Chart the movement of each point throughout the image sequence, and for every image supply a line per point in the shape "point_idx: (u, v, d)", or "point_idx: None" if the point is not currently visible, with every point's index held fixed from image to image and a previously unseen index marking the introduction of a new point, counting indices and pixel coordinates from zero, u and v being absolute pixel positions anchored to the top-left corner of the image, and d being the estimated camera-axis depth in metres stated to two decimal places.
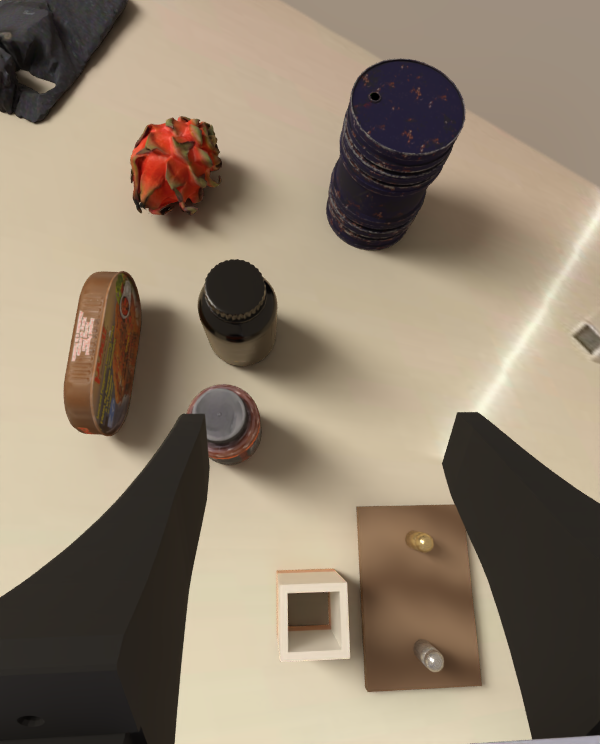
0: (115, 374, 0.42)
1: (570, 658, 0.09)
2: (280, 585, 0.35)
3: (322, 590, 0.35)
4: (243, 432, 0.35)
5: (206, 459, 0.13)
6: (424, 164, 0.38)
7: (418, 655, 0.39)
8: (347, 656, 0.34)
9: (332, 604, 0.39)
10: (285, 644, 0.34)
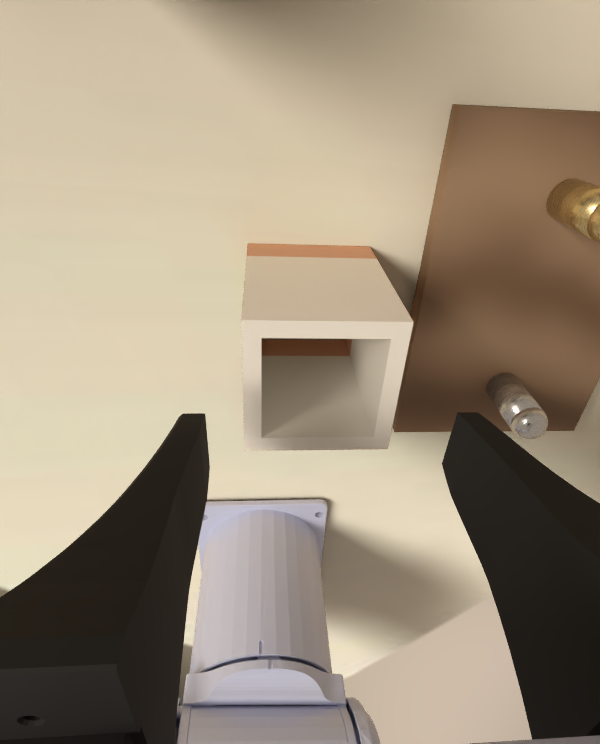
0: None
1: (570, 658, 0.09)
2: (243, 321, 0.14)
3: (349, 336, 0.14)
4: None
5: (206, 459, 0.13)
6: None
7: (497, 402, 0.22)
8: (382, 445, 0.17)
9: None
10: (256, 426, 0.16)
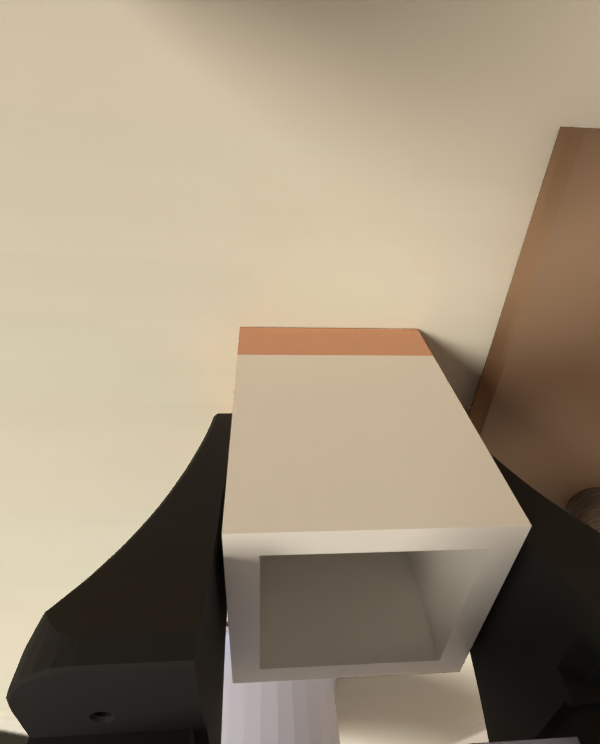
0: None
1: (521, 661, 0.08)
2: (227, 533, 0.07)
3: (415, 547, 0.08)
4: None
5: None
6: None
7: None
8: (452, 668, 0.11)
9: None
10: (250, 657, 0.10)
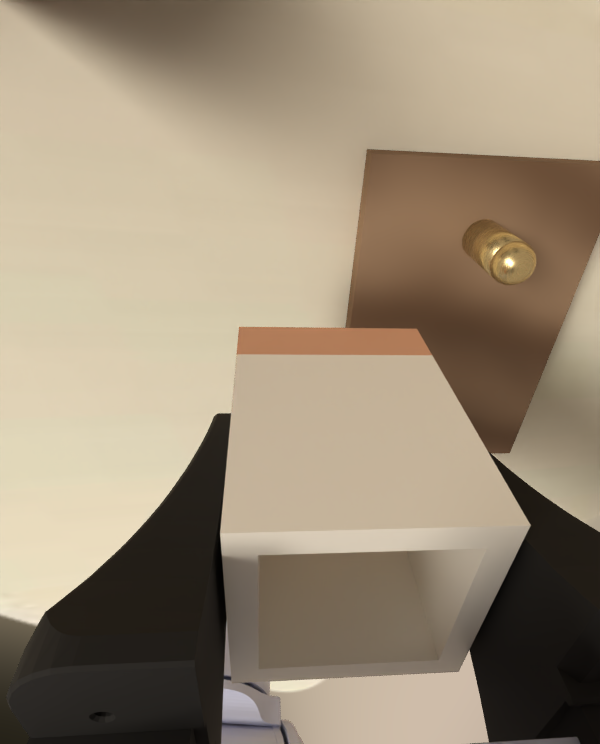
0: None
1: (521, 661, 0.08)
2: (225, 532, 0.07)
3: (414, 547, 0.08)
4: None
5: None
6: None
7: None
8: (451, 667, 0.11)
9: None
10: (249, 657, 0.10)
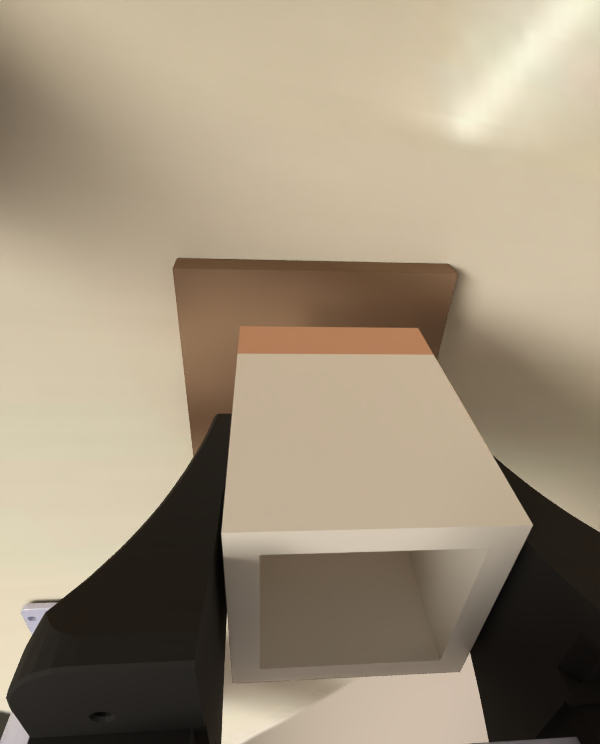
0: None
1: (521, 661, 0.08)
2: (226, 532, 0.07)
3: (416, 547, 0.08)
4: None
5: None
6: None
7: None
8: (452, 668, 0.11)
9: None
10: (250, 657, 0.10)
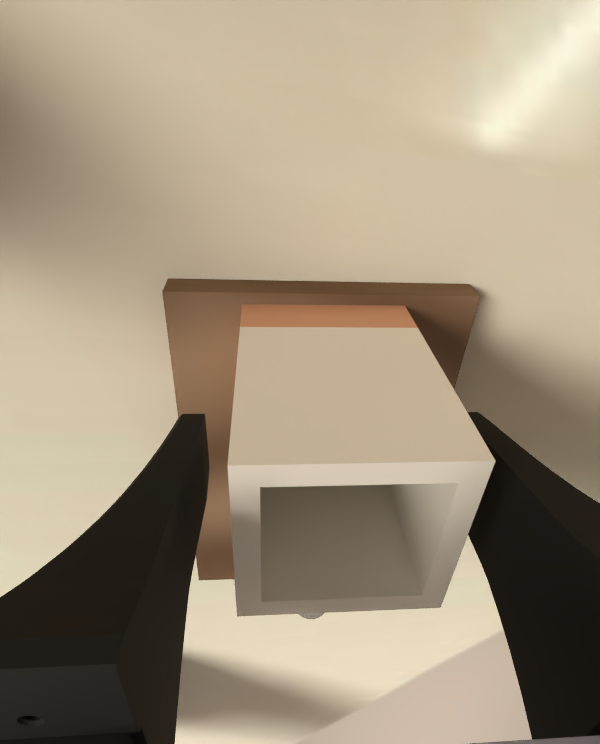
0: None
1: (569, 658, 0.09)
2: (232, 465, 0.09)
3: (395, 481, 0.09)
4: None
5: (206, 459, 0.13)
6: None
7: None
8: (433, 603, 0.12)
9: None
10: (253, 589, 0.11)
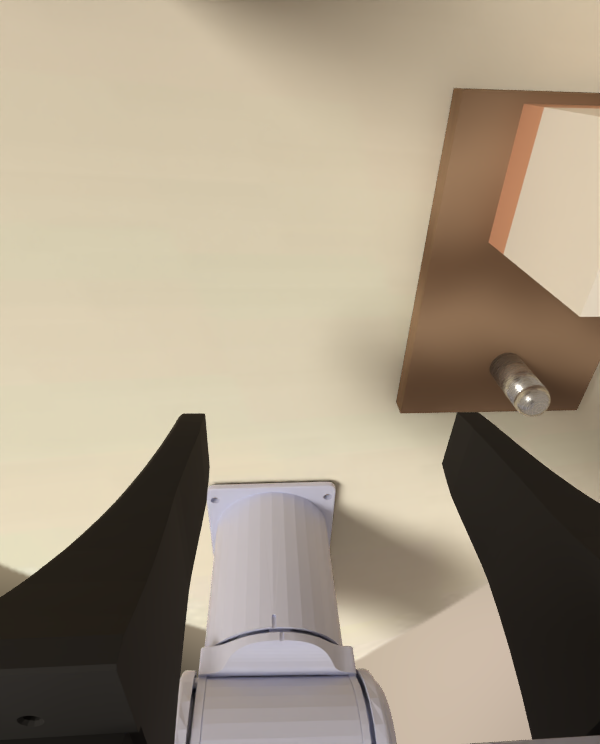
0: None
1: (569, 658, 0.09)
2: None
3: None
4: None
5: (206, 459, 0.13)
6: None
7: (500, 381, 0.23)
8: None
9: None
10: None
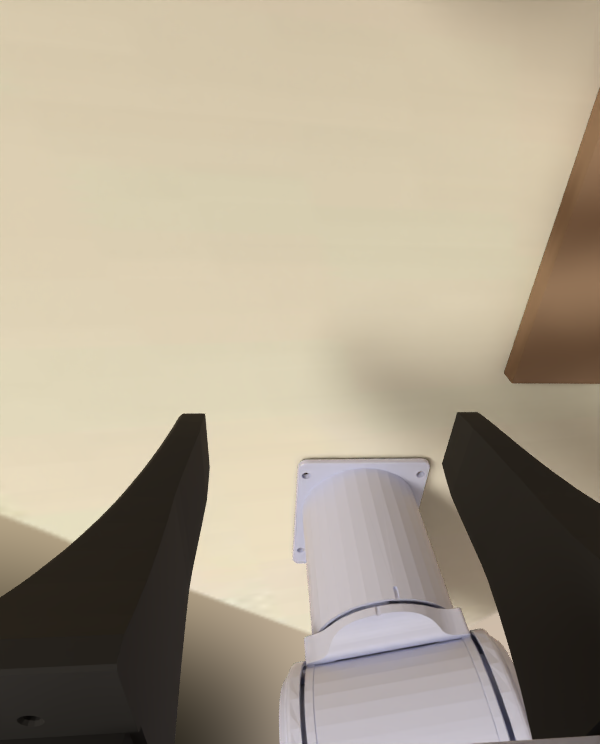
0: None
1: (569, 658, 0.09)
2: None
3: None
4: None
5: (206, 459, 0.13)
6: None
7: None
8: None
9: None
10: None
